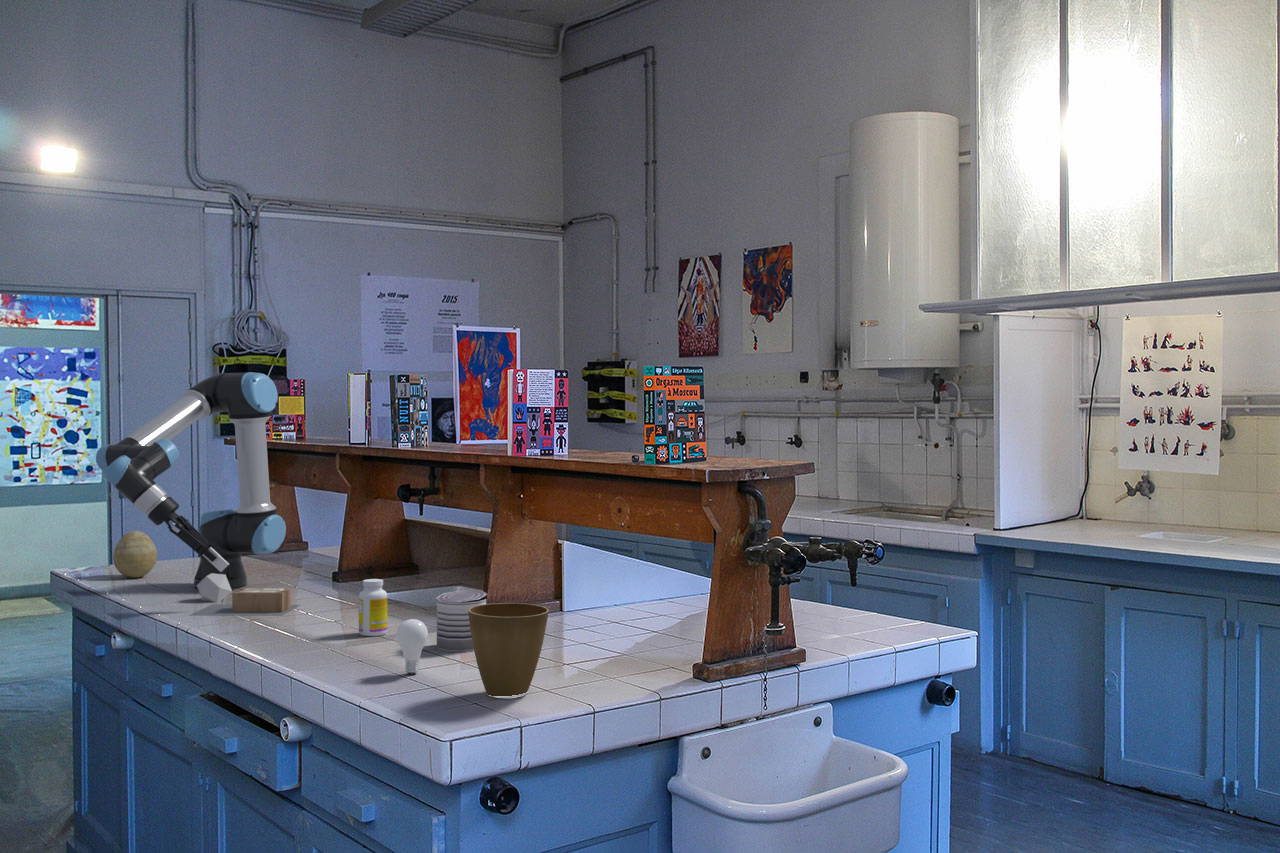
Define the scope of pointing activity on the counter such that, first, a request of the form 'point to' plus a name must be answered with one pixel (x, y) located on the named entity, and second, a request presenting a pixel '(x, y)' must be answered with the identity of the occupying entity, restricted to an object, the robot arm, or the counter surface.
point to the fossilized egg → (135, 554)
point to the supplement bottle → (372, 608)
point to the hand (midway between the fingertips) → (225, 568)
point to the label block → (261, 600)
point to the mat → (227, 611)
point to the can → (456, 619)
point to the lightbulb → (412, 642)
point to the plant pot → (507, 644)
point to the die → (214, 588)
